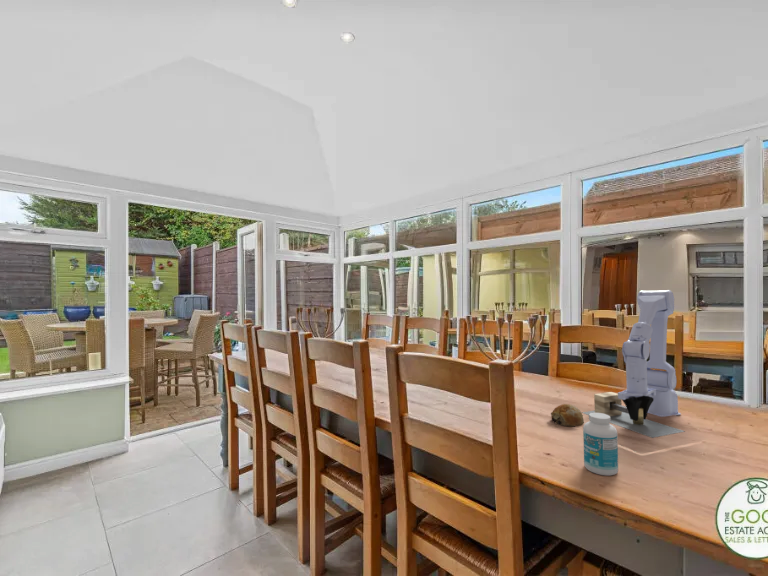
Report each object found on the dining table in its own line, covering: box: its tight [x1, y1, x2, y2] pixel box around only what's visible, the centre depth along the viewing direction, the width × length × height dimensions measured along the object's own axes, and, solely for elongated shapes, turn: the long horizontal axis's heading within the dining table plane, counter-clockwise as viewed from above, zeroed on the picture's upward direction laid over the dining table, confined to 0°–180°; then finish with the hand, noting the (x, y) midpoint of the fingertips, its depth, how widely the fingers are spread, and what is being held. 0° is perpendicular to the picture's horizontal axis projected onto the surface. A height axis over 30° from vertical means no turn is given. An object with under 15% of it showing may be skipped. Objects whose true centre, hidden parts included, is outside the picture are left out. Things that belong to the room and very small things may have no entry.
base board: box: [581, 409, 686, 439], centre depth 127 cm, size 14×26×1 cm, turn 19°
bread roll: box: [550, 403, 585, 428], centre depth 129 cm, size 10×10×8 cm
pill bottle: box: [582, 413, 619, 476], centre depth 95 cm, size 8×7×14 cm
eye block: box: [593, 391, 623, 416], centre depth 135 cm, size 8×4×7 cm, turn 109°
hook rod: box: [610, 402, 644, 424], centre depth 131 cm, size 3×16×5 cm, turn 19°
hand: (638, 419), depth 124 cm, fingers closed on hook rod, 3 cm apart
